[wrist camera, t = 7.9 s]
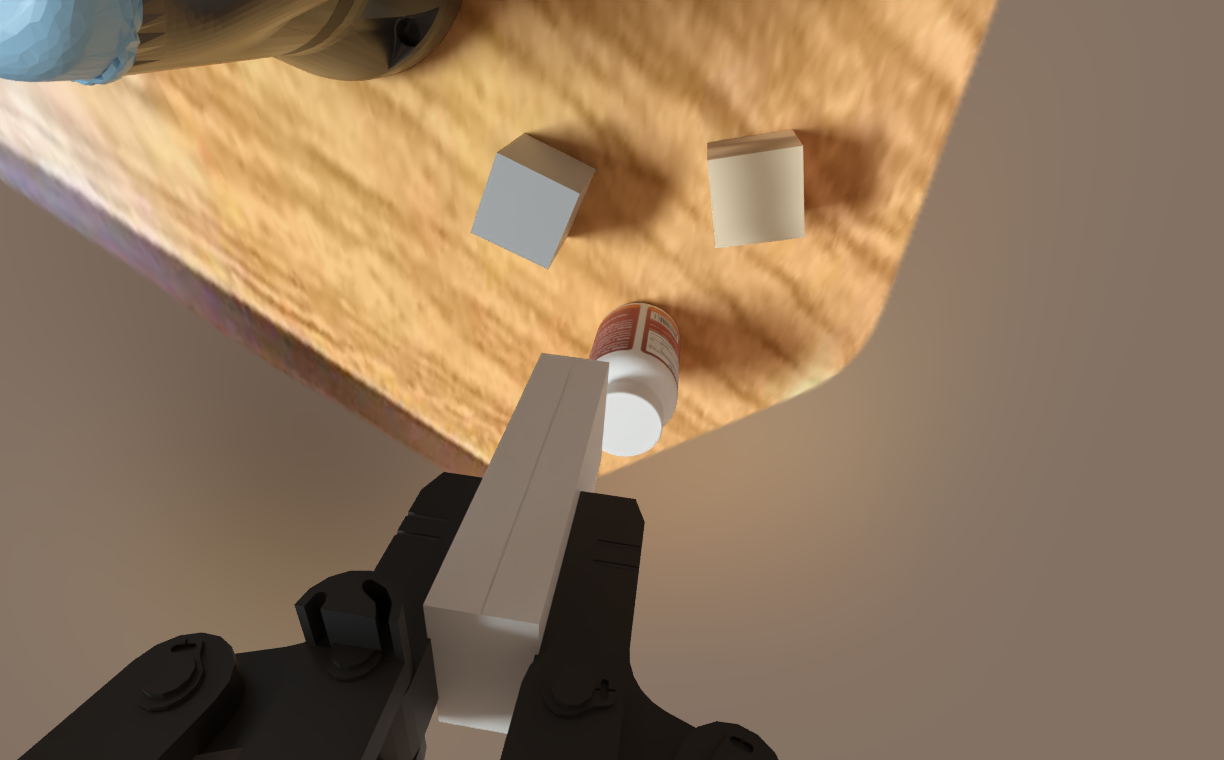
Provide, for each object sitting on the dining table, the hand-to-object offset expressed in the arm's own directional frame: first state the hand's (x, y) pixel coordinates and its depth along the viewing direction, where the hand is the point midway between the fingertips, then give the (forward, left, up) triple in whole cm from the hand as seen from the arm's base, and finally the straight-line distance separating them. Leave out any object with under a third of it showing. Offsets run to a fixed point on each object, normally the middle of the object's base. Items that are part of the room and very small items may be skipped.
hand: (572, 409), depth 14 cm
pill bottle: (0, -13, -29) cm, 32 cm away
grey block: (-7, -3, -29) cm, 30 cm away
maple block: (+6, -1, -29) cm, 29 cm away
